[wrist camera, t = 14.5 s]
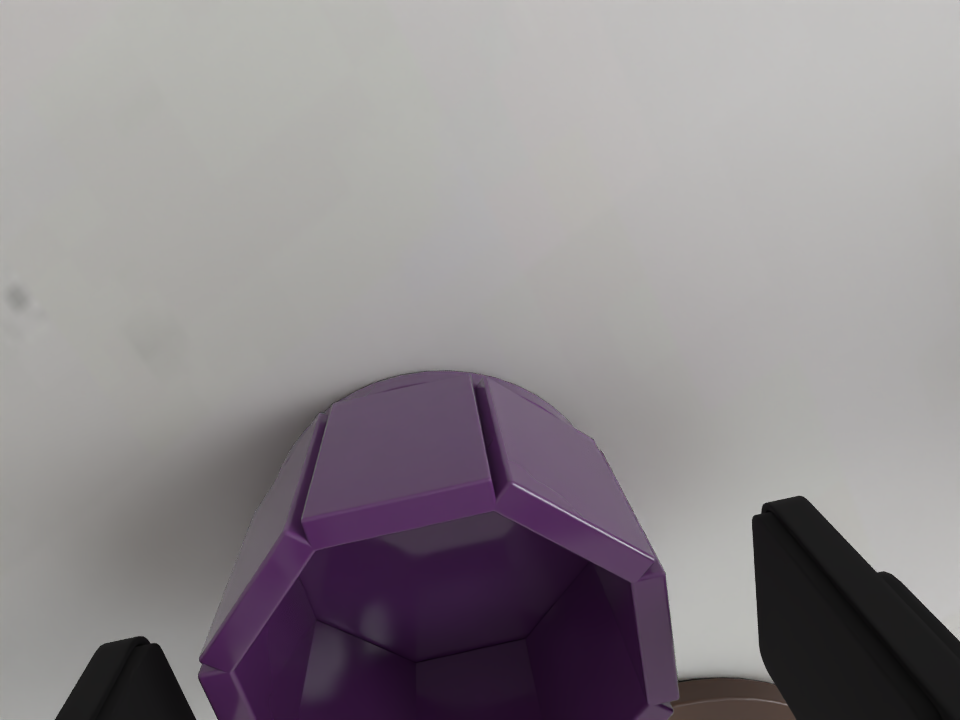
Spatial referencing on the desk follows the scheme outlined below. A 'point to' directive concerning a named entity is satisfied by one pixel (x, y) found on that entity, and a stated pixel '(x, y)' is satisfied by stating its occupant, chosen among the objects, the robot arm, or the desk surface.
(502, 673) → the dish plum
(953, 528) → the desk surface
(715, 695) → the coaster
